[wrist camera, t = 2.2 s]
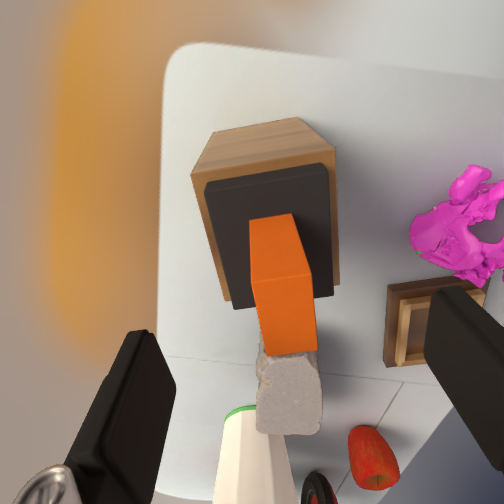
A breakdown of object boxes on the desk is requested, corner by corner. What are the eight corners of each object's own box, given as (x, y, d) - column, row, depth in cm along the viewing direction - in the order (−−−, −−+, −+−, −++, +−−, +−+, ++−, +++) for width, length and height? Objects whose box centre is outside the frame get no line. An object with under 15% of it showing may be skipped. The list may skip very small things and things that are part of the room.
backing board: (387, 285, 33) (396, 297, 31) (483, 271, 33) (498, 283, 31) (382, 360, 39) (389, 374, 37) (463, 349, 39) (474, 364, 37)
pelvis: (391, 248, 31) (425, 288, 25) (438, 152, 26) (492, 175, 21) (497, 266, 32) (552, 308, 27) (560, 179, 28) (642, 206, 22)
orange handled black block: (206, 181, 15) (182, 246, 9) (321, 161, 15) (369, 216, 9) (234, 294, 18) (229, 390, 13) (328, 280, 18) (365, 373, 12)
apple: (381, 413, 45) (403, 471, 39) (383, 436, 48) (405, 493, 42) (338, 421, 46) (353, 479, 39) (343, 443, 49) (358, 500, 42)
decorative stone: (269, 399, 43) (338, 382, 41) (270, 451, 37) (351, 435, 35) (222, 327, 36) (303, 302, 34) (215, 377, 31) (312, 351, 28)
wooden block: (212, 132, 25) (189, 173, 15) (297, 116, 25) (336, 147, 14) (232, 220, 29) (224, 302, 19) (305, 208, 29) (340, 285, 18)
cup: (290, 445, 49) (307, 584, 36) (211, 446, 48) (199, 586, 35) (299, 396, 43) (323, 541, 29) (208, 396, 42) (192, 543, 29)
